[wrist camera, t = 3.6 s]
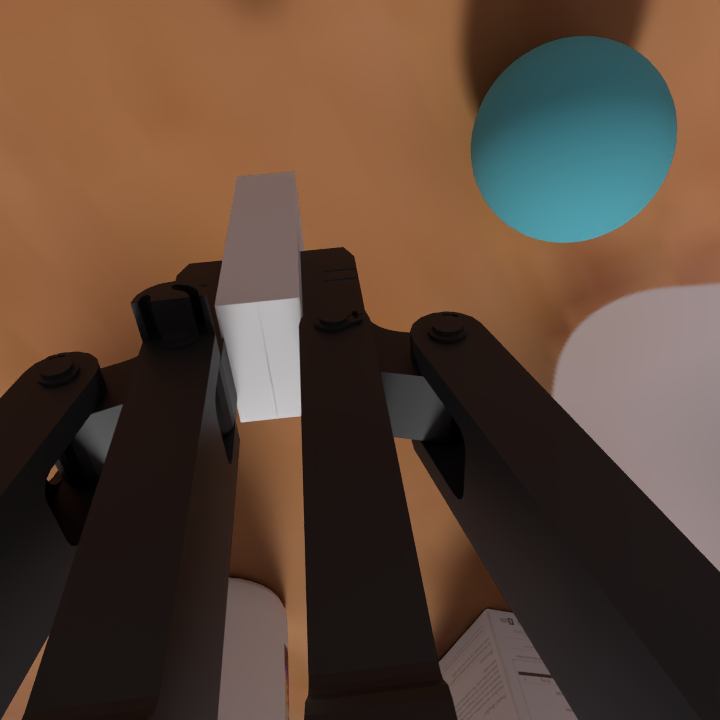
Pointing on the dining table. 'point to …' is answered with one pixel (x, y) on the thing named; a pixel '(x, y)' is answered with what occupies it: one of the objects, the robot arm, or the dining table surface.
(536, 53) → the ball
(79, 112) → the dining table surface
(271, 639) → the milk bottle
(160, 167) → the dining table surface
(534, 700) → the supplement box
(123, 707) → the robot arm
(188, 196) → the dining table surface
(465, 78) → the dining table surface
